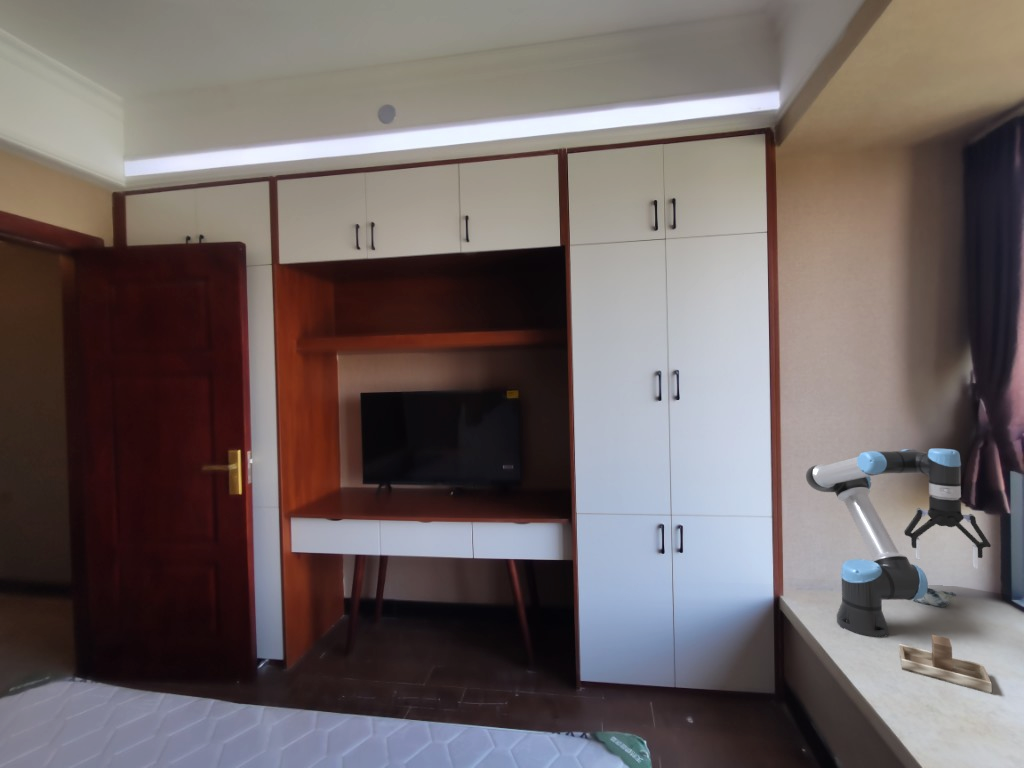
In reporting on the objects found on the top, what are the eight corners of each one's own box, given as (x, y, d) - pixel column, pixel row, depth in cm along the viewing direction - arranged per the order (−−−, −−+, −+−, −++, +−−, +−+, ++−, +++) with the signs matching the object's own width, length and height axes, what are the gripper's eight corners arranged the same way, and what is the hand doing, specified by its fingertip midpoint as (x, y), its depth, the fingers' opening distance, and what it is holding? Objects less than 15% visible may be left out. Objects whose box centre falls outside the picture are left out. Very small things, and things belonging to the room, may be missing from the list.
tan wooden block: (934, 672, 140) (933, 643, 140) (932, 662, 145) (931, 634, 145) (952, 677, 138) (951, 647, 138) (949, 667, 143) (949, 638, 143)
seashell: (946, 594, 184) (910, 586, 188) (957, 592, 178) (919, 583, 182) (948, 611, 182) (911, 602, 185) (959, 610, 175) (921, 600, 179)
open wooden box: (902, 669, 143) (901, 659, 143) (899, 652, 152) (899, 643, 151) (991, 693, 131) (991, 683, 131) (983, 674, 140) (983, 664, 140)
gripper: (895, 494, 153) (896, 558, 153) (1003, 505, 138) (1004, 575, 138) (893, 490, 159) (894, 551, 159) (997, 499, 144) (998, 567, 144)
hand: (945, 562), depth 149 cm, fingers open, 13 cm apart
